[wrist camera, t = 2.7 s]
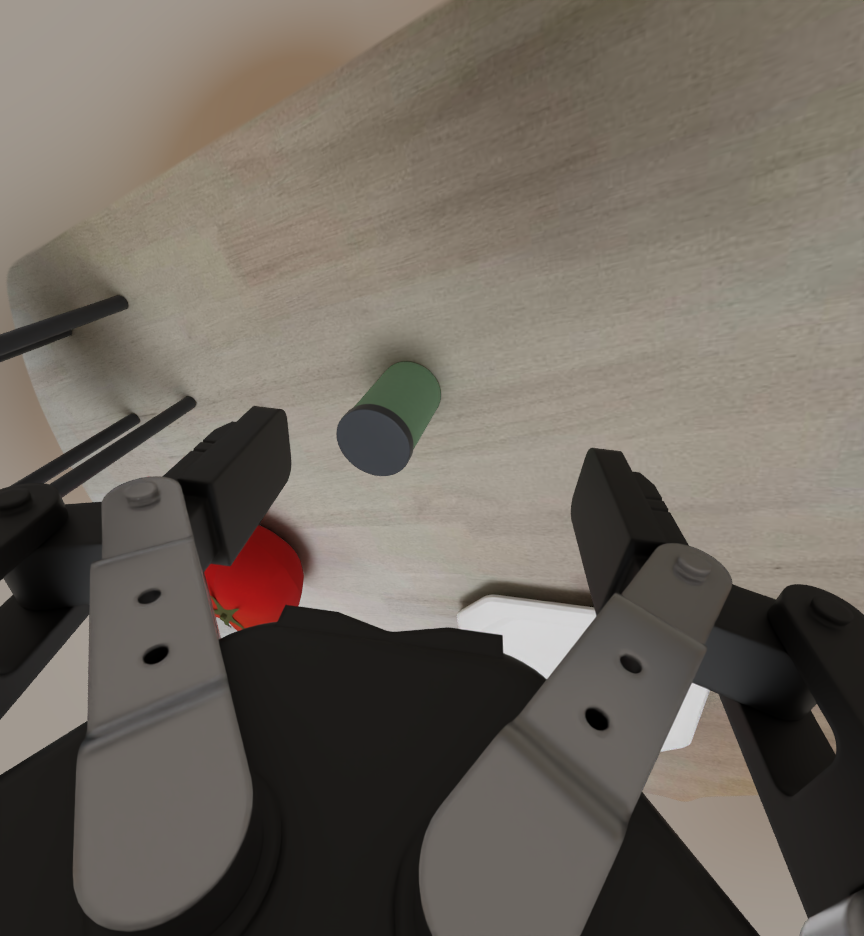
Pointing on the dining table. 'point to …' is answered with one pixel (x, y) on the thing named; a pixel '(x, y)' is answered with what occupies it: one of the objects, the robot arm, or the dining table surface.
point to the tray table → (59, 328)
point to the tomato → (256, 582)
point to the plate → (559, 644)
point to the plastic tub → (389, 419)
